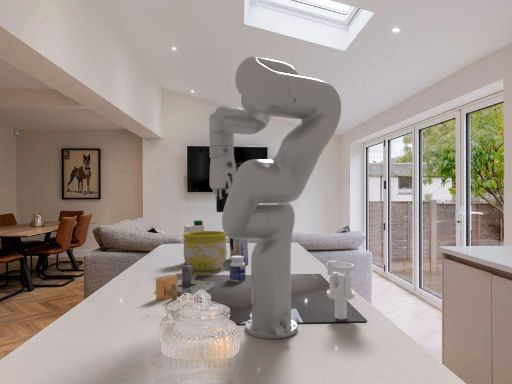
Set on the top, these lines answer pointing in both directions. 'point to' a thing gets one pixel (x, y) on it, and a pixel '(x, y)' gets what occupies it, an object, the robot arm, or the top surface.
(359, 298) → the top surface
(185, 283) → the board
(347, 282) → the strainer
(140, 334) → the top surface
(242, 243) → the cake pan box
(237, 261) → the pill bottle
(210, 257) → the flowerpot
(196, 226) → the milk carton
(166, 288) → the flange plate
